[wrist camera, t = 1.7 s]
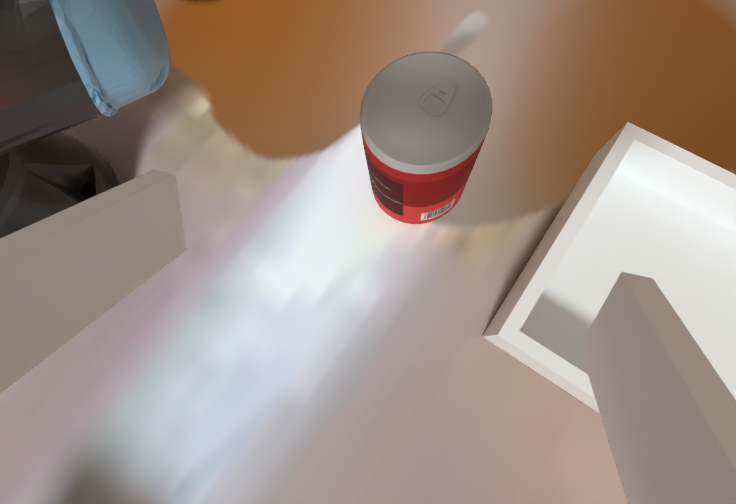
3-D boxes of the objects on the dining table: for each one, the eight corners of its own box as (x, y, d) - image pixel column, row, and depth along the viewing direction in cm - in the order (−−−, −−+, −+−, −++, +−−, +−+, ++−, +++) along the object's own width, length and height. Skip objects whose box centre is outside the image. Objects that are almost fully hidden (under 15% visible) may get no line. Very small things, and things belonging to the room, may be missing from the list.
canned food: (477, 160, 33) (514, 73, 23) (440, 242, 32) (459, 191, 21) (396, 129, 35) (394, 32, 24) (357, 206, 33) (336, 140, 23)
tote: (481, 336, 30) (497, 334, 25) (593, 154, 33) (627, 121, 28) (745, 509, 26) (824, 547, 21) (848, 287, 29) (940, 275, 24)
